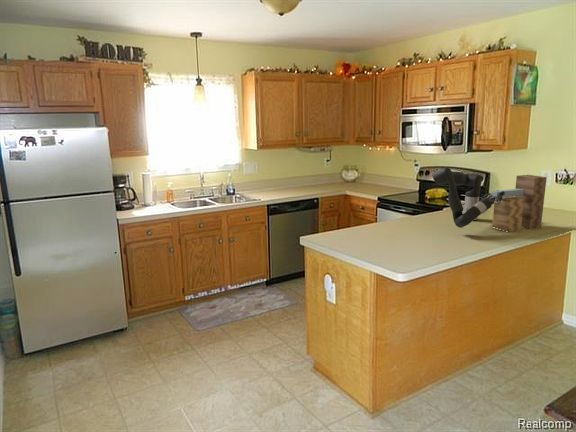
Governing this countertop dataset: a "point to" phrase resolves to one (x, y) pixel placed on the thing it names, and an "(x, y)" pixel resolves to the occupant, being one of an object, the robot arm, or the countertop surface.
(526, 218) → the post
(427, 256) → the countertop surface
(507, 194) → the bar
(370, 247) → the countertop surface
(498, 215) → the block
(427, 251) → the countertop surface
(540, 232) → the countertop surface
